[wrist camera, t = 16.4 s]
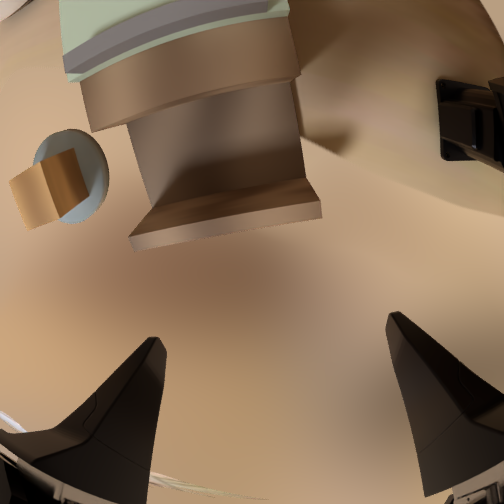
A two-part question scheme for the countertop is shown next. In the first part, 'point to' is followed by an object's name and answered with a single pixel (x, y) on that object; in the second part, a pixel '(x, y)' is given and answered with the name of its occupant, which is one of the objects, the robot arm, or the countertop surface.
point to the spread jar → (11, 7)
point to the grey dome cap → (90, 165)
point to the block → (49, 189)
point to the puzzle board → (210, 131)
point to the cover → (143, 26)
